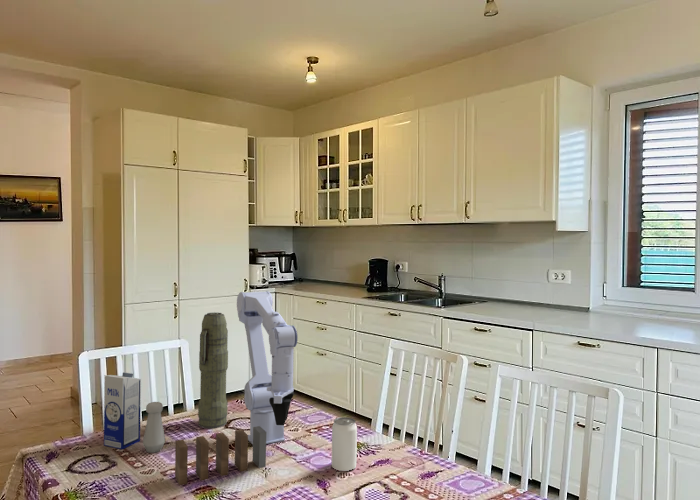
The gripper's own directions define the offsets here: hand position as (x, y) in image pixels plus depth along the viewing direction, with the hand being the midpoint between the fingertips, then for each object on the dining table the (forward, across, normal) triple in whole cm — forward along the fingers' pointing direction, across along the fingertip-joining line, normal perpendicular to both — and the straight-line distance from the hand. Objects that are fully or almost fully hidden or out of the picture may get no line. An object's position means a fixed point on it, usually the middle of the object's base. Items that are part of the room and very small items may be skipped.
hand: (281, 422), depth 137 cm
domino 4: (+10, +6, -9) cm, 15 cm away
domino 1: (+10, +14, -22) cm, 28 cm away
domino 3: (+10, +8, -14) cm, 19 cm away
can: (+10, +4, +17) cm, 20 cm away
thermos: (+10, -25, -26) cm, 37 cm away
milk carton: (+10, -8, -46) cm, 48 cm away
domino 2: (+10, +11, -18) cm, 23 cm away
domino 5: (+10, +3, -5) cm, 12 cm away
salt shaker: (+10, -4, -36) cm, 37 cm away
